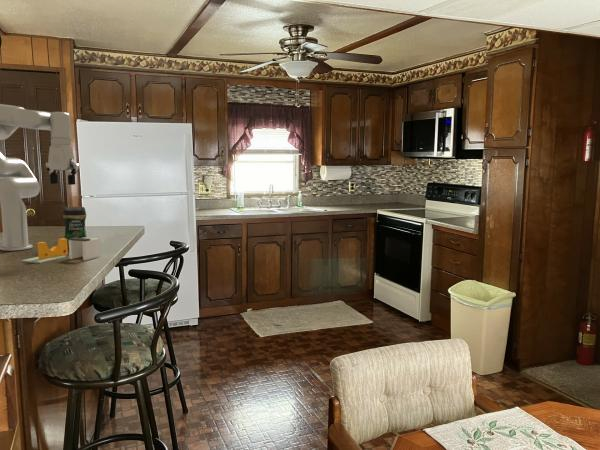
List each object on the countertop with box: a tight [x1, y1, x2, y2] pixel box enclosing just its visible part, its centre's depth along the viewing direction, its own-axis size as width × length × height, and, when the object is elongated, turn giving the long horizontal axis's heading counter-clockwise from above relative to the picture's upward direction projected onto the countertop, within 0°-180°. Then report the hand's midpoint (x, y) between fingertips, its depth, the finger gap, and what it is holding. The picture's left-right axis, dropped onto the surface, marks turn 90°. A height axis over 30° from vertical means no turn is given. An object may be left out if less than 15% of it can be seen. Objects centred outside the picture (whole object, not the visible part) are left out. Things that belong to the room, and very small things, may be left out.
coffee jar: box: [62, 206, 88, 250], centre depth 224 cm, size 10×8×19 cm
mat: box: [21, 255, 67, 264], centre depth 198 cm, size 9×13×1 cm
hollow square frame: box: [68, 237, 101, 261], centre depth 202 cm, size 8×8×8 cm
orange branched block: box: [36, 237, 69, 259], centre depth 201 cm, size 12×4×6 cm, turn 158°
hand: (62, 184), depth 209 cm, fingers open, 9 cm apart
